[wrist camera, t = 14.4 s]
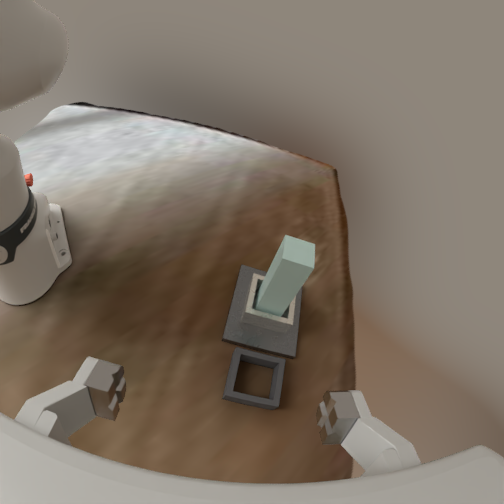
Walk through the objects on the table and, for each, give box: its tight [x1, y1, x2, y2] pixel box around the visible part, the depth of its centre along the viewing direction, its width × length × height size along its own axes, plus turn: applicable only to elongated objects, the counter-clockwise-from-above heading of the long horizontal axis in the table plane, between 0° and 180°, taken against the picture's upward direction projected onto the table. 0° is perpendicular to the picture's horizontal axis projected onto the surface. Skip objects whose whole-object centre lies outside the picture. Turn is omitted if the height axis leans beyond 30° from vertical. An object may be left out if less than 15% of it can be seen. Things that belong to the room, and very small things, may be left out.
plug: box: [253, 235, 315, 317], centre depth 41 cm, size 4×4×14 cm
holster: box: [222, 347, 286, 410], centre depth 38 cm, size 7×7×2 cm
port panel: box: [222, 265, 302, 359], centre depth 45 cm, size 14×11×4 cm
